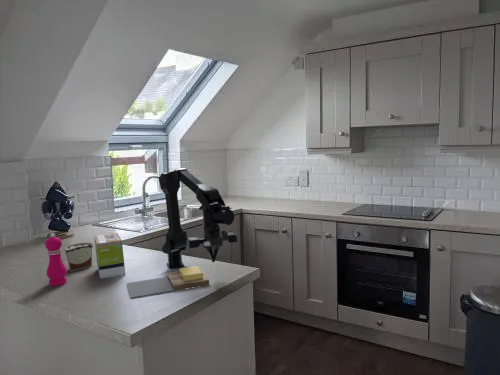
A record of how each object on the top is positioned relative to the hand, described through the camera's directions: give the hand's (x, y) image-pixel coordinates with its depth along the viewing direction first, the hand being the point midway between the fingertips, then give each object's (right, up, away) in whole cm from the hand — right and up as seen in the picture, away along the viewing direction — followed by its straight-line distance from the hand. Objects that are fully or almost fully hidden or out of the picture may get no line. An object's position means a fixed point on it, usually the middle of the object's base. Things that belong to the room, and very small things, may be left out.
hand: (213, 261), depth 167 cm
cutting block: (-9, -7, -3) cm, 12 cm away
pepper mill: (-61, -9, +3) cm, 61 cm away
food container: (-61, -7, +23) cm, 65 cm away
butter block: (-8, -4, -3) cm, 9 cm away
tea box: (-44, -7, +14) cm, 46 cm away
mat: (-23, -8, -7) cm, 25 cm away
